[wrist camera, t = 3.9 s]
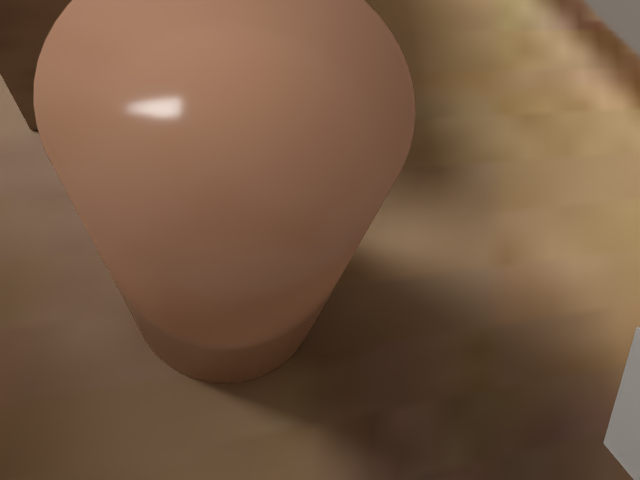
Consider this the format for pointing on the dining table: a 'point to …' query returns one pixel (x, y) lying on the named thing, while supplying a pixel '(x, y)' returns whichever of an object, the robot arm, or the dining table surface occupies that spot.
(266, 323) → the dome-topped peach cylinder
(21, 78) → the walnut crate
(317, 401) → the dining table surface
